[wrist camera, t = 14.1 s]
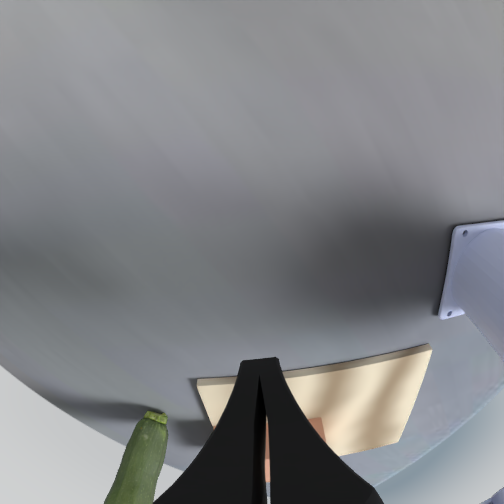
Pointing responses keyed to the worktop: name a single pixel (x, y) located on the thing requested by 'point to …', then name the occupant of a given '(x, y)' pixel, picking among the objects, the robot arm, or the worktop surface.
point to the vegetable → (141, 462)
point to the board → (346, 397)
